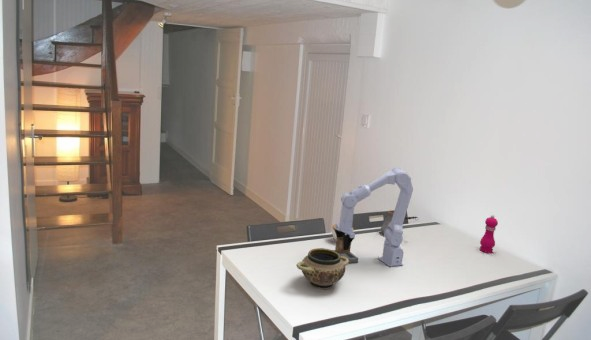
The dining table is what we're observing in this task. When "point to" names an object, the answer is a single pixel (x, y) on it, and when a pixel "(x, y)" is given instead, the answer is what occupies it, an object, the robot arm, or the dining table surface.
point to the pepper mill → (489, 235)
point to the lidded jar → (335, 233)
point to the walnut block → (341, 246)
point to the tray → (349, 257)
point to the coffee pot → (389, 219)
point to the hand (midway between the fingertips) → (342, 247)
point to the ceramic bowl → (323, 267)
